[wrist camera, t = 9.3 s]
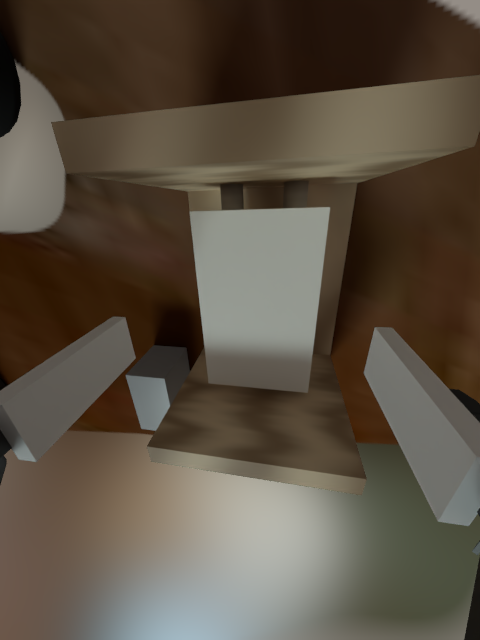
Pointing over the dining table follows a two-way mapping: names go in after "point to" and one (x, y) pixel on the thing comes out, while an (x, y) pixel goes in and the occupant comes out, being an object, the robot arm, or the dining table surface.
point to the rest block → (157, 382)
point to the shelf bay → (266, 193)
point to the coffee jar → (8, 89)
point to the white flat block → (259, 293)
